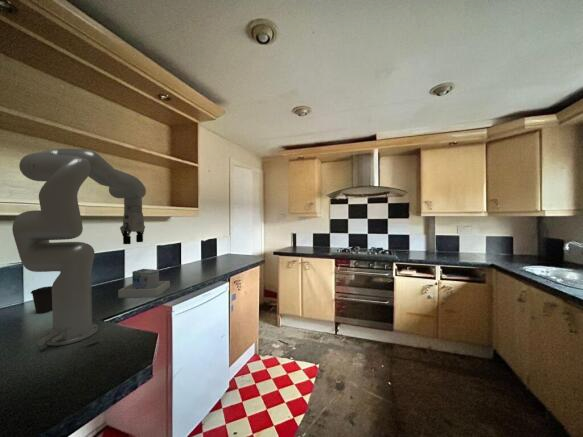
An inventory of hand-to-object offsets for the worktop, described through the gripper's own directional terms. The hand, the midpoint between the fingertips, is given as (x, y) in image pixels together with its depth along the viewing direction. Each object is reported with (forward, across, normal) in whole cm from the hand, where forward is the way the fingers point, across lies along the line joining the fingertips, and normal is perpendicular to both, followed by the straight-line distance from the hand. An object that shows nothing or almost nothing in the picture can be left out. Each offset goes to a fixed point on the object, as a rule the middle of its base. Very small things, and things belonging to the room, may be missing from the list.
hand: (133, 243), depth 116 cm
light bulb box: (+26, +2, -5) cm, 26 cm away
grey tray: (+26, +2, -4) cm, 27 cm away
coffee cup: (+27, -18, +25) cm, 41 cm away
